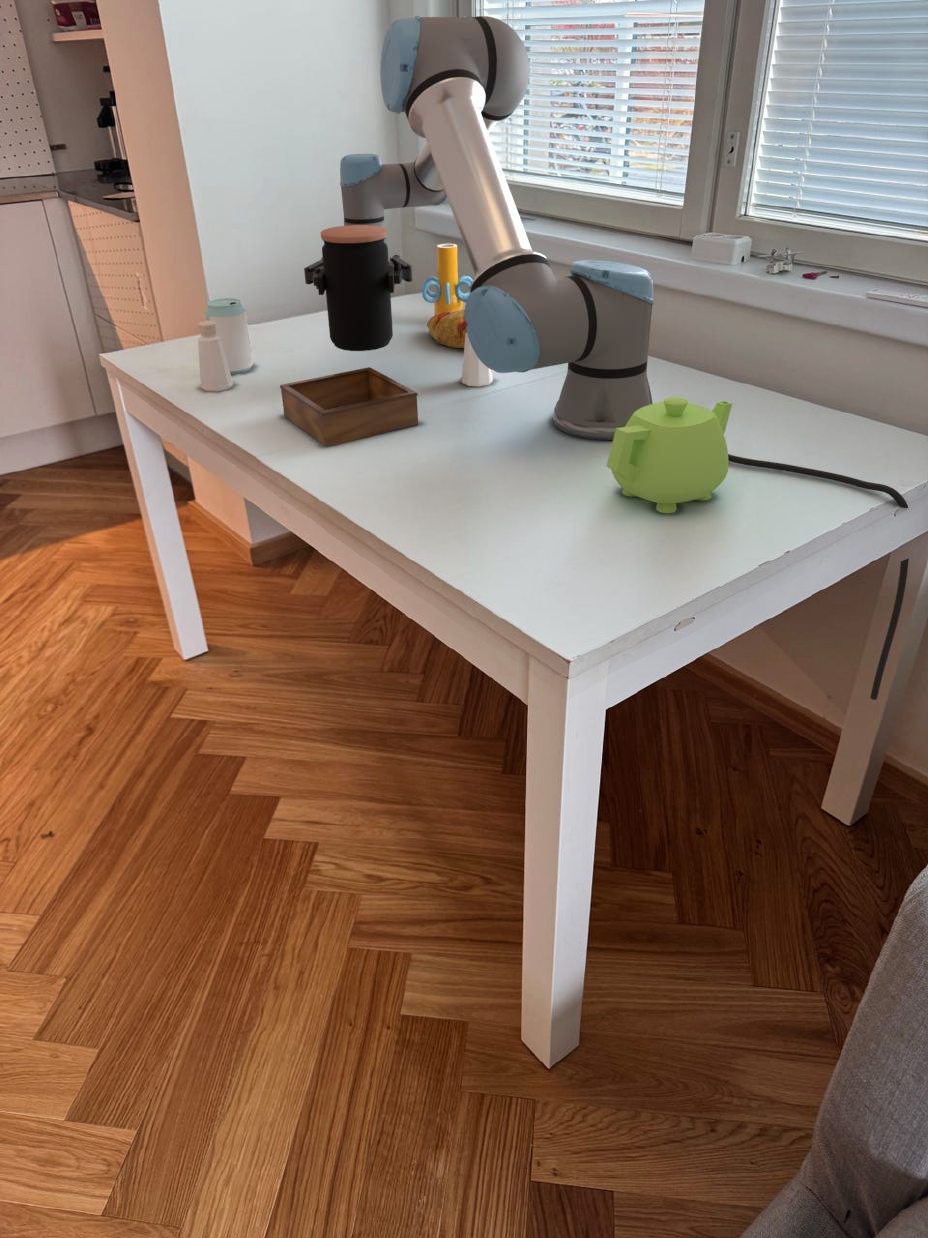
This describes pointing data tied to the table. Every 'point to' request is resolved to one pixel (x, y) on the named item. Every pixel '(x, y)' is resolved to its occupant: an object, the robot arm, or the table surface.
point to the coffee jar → (357, 287)
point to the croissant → (449, 328)
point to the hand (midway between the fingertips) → (355, 285)
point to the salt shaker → (212, 359)
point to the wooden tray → (342, 424)
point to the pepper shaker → (474, 368)
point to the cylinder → (447, 282)
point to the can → (232, 332)
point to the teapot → (671, 452)
